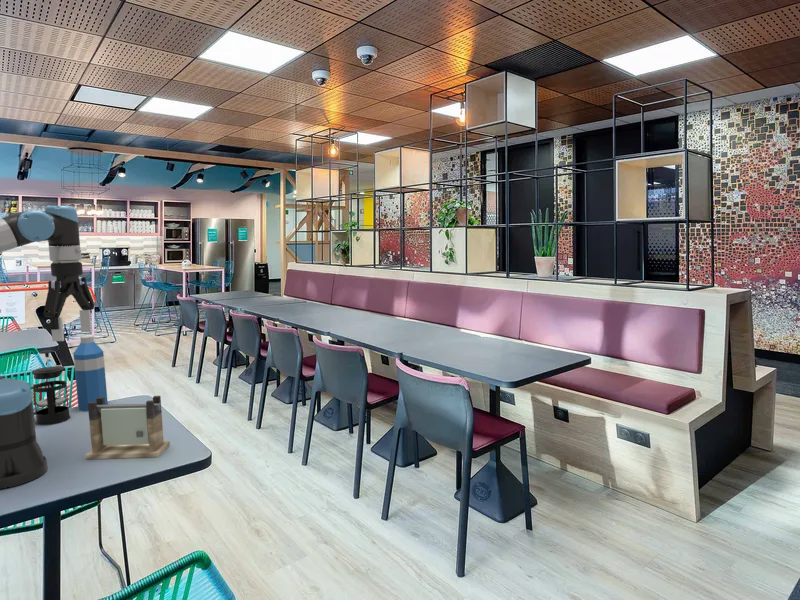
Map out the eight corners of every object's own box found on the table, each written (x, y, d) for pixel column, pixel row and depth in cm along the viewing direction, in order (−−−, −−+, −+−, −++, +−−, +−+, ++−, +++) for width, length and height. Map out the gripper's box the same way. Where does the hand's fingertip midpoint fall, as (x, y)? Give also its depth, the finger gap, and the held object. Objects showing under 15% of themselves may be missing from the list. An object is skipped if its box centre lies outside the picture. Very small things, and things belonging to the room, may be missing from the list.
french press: (72, 413, 179) (66, 346, 176) (72, 421, 171) (66, 351, 168) (30, 419, 173) (23, 350, 170) (28, 428, 165) (20, 356, 162)
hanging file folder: (90, 446, 142) (87, 408, 141) (98, 441, 146) (94, 404, 145) (158, 444, 143) (155, 406, 142) (164, 439, 147) (161, 402, 145)
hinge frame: (85, 459, 141) (80, 405, 139) (101, 447, 149) (97, 395, 147) (158, 457, 142) (154, 403, 140) (169, 445, 150) (166, 394, 148)
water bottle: (86, 413, 178) (80, 340, 175) (72, 408, 183) (65, 337, 180) (113, 405, 186) (108, 335, 183) (99, 401, 191) (93, 333, 188)
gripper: (51, 264, 136) (59, 344, 139) (103, 259, 161) (109, 328, 163) (22, 264, 136) (30, 345, 139) (78, 259, 161) (84, 328, 163)
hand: (73, 336), depth 151 cm, fingers open, 13 cm apart
